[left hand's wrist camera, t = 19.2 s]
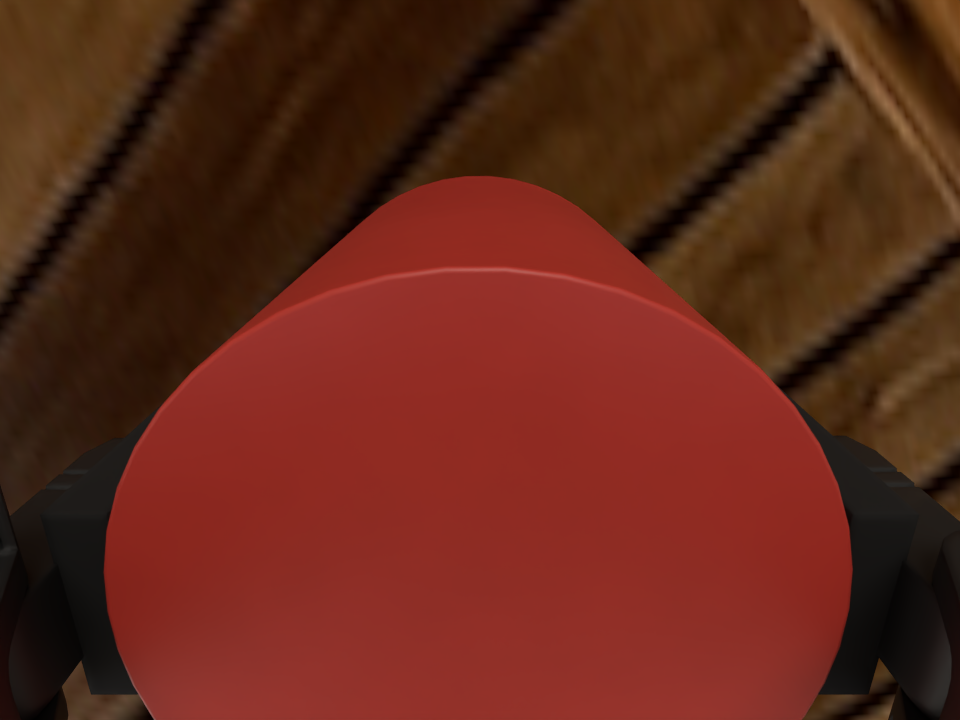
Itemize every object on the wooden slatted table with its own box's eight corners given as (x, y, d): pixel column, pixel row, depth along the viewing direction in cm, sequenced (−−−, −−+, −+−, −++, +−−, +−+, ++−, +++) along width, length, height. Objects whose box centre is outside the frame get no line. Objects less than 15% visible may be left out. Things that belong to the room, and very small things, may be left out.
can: (319, 479, 18) (149, 859, 9) (309, 164, 15) (35, 238, 6) (619, 495, 18) (763, 884, 9) (668, 187, 15) (961, 293, 6)
